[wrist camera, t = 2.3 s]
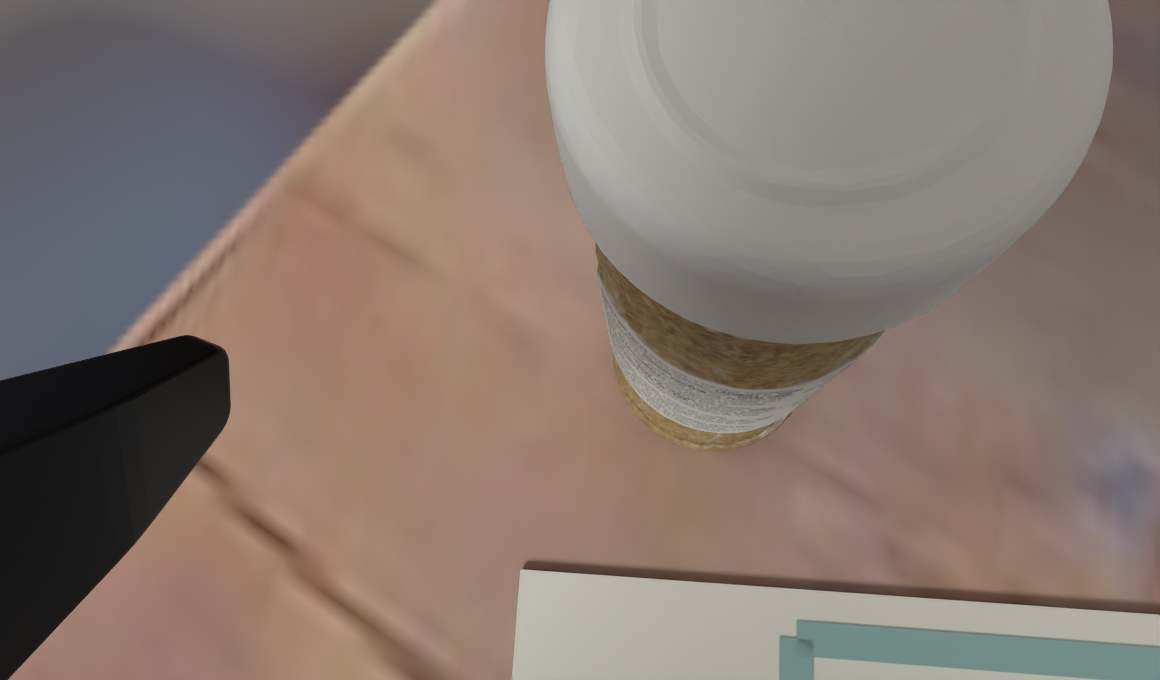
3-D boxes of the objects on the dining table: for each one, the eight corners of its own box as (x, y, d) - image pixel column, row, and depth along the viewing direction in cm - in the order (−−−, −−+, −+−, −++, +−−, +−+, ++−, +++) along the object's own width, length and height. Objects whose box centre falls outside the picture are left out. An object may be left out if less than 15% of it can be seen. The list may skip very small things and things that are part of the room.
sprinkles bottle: (706, 226, 20) (807, -326, 7) (852, 357, 19) (1271, -11, 6) (570, 360, 20) (419, 24, 7) (712, 500, 19) (855, 424, 6)
